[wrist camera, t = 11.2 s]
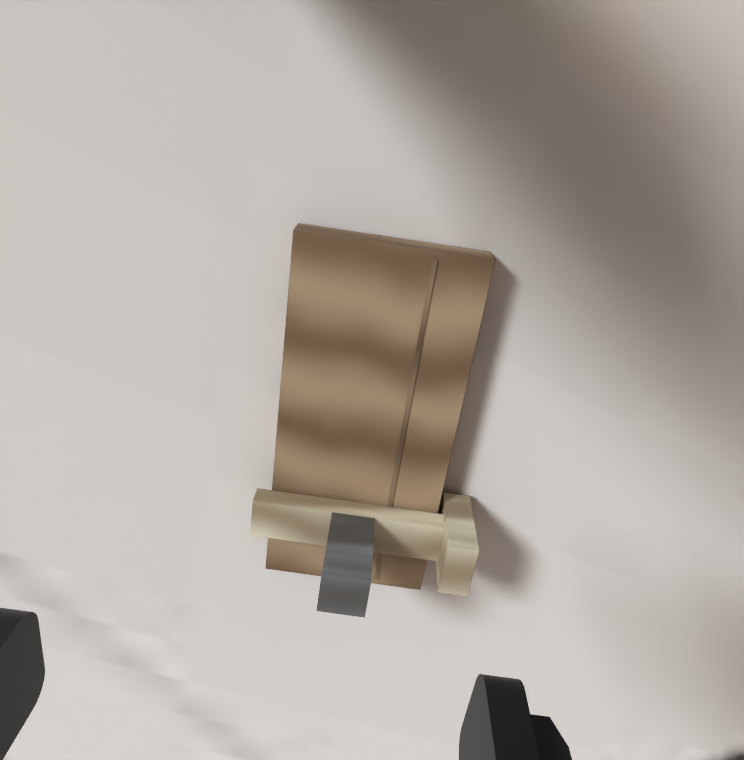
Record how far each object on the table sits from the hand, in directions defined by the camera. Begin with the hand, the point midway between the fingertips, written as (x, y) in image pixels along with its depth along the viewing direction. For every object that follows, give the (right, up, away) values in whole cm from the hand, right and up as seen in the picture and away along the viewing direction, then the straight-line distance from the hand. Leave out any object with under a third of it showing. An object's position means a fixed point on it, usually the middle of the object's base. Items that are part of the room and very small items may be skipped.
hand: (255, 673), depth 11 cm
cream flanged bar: (+1, -4, +35) cm, 35 cm away
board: (+2, +2, +32) cm, 32 cm away
